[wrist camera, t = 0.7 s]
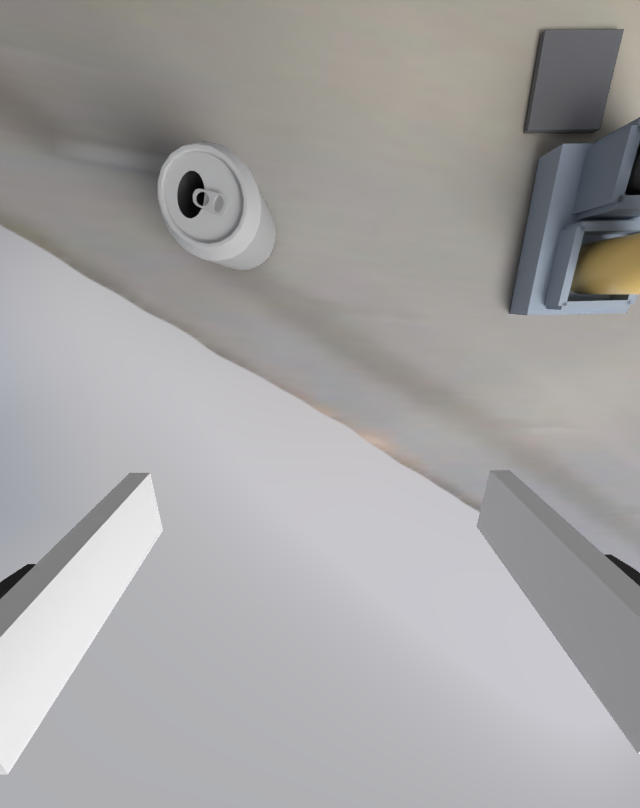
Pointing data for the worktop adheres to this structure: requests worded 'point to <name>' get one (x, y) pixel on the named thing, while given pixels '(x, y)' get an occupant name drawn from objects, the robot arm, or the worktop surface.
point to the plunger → (634, 177)
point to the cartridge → (608, 267)
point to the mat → (572, 80)
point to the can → (215, 206)
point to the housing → (576, 222)
